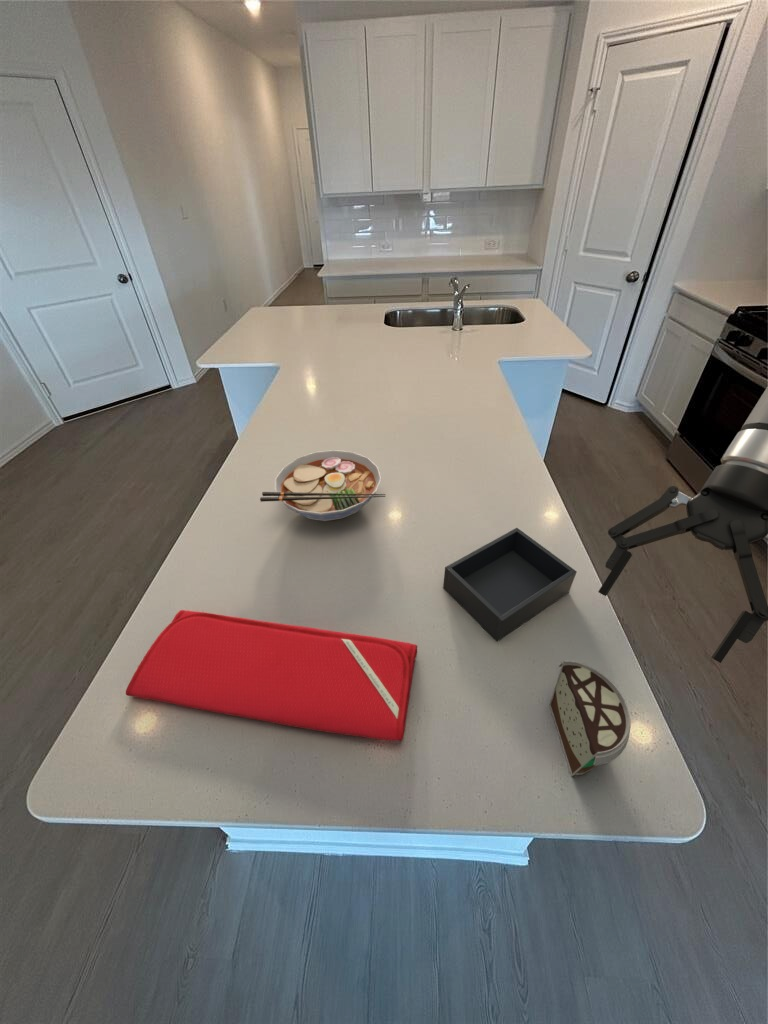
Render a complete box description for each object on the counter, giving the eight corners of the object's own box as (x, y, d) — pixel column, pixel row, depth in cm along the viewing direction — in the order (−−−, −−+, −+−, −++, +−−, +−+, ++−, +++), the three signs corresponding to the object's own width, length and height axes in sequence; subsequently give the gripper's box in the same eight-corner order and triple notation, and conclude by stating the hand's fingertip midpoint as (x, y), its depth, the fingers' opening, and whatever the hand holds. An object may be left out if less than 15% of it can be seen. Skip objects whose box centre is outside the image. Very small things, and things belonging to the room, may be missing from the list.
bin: (568, 592, 78) (577, 571, 74) (496, 641, 71) (502, 621, 67) (512, 548, 87) (516, 527, 83) (442, 588, 79) (444, 566, 76)
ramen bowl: (388, 475, 107) (387, 446, 101) (385, 540, 89) (384, 510, 84) (286, 475, 108) (280, 446, 102) (264, 540, 90) (255, 510, 85)
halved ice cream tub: (625, 788, 54) (655, 756, 48) (575, 790, 54) (599, 758, 48) (588, 693, 64) (609, 655, 57) (545, 694, 64) (562, 656, 57)
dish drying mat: (184, 613, 77) (177, 599, 74) (417, 648, 70) (418, 635, 68) (128, 699, 65) (118, 687, 62) (402, 752, 58) (402, 740, 56)
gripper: (878, 531, 49) (767, 689, 51) (647, 447, 63) (567, 574, 65) (908, 518, 42) (781, 698, 45) (645, 428, 56) (557, 568, 59)
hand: (654, 625), depth 55 cm, fingers open, 13 cm apart
